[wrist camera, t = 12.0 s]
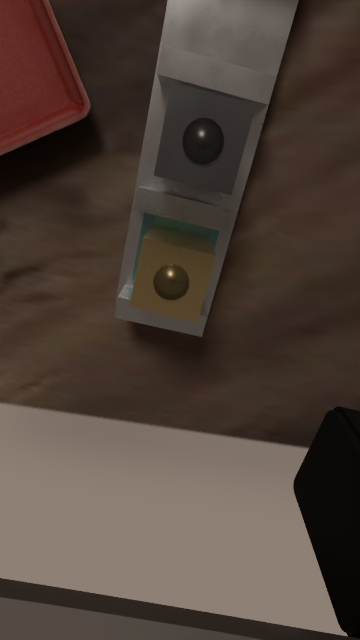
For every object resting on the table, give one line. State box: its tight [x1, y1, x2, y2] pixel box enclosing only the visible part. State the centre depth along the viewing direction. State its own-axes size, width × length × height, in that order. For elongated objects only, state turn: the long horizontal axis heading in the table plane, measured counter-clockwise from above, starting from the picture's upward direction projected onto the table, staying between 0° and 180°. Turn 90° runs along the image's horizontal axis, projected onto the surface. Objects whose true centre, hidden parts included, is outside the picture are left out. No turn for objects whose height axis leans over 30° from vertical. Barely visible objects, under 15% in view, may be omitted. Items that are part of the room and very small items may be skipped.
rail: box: [115, 0, 299, 337], centre depth 25 cm, size 8×26×5 cm, turn 167°
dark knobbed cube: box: [154, 82, 256, 195], centre depth 22 cm, size 4×4×7 cm
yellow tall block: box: [129, 223, 216, 323], centre depth 25 cm, size 4×4×7 cm
